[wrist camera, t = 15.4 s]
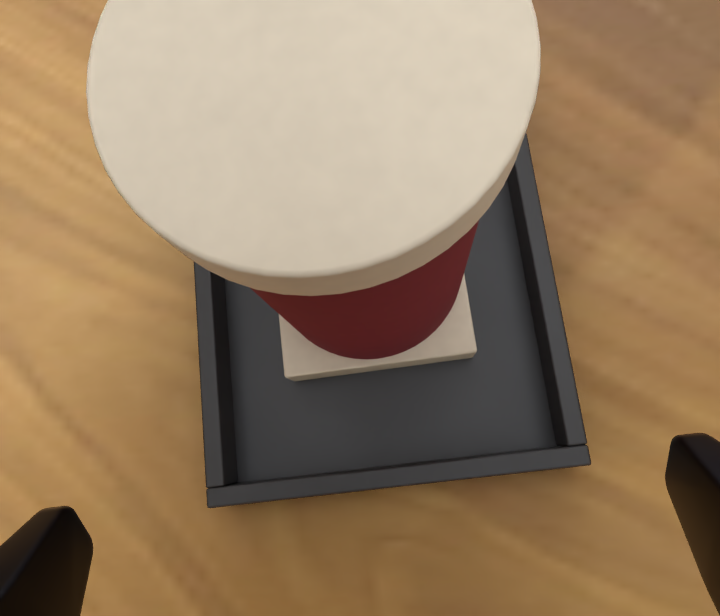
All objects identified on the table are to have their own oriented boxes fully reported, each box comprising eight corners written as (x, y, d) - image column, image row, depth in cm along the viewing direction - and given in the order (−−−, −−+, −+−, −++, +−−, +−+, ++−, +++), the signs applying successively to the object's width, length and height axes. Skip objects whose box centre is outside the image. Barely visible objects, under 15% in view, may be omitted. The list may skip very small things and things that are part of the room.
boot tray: (574, 462, 19) (592, 465, 17) (226, 501, 20) (206, 508, 18) (493, 34, 23) (500, -3, 21) (200, 82, 24) (181, 50, 22)
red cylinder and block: (483, 359, 20) (587, 236, 8) (284, 386, 20) (88, 310, 8) (442, 121, 22) (475, -274, 10) (262, 150, 22) (78, -193, 10)
